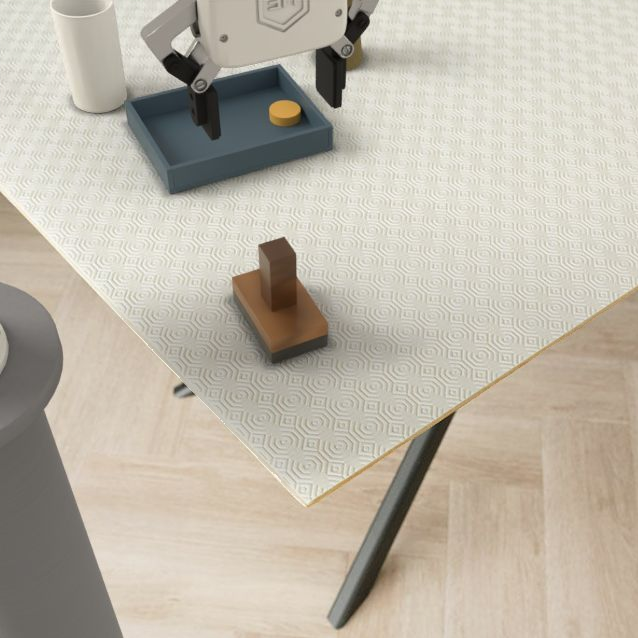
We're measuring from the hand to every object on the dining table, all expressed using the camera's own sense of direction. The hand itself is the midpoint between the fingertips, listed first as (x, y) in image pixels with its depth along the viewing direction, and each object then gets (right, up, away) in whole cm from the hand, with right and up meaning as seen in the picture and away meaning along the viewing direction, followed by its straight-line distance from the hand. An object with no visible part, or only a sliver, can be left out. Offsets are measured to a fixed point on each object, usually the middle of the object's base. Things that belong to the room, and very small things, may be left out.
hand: (270, 114), depth 68 cm
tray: (-8, +7, +36) cm, 37 cm away
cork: (+5, +19, +48) cm, 52 cm away
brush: (-1, -15, +17) cm, 22 cm away
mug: (-24, +13, +41) cm, 50 cm away
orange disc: (-2, +9, +38) cm, 39 cm away
